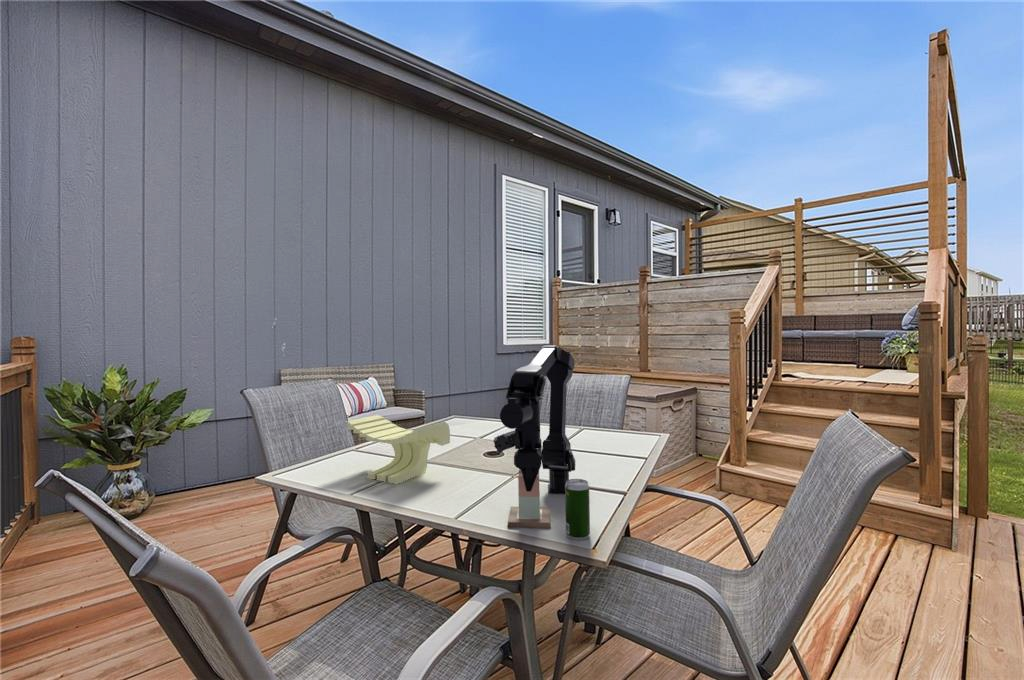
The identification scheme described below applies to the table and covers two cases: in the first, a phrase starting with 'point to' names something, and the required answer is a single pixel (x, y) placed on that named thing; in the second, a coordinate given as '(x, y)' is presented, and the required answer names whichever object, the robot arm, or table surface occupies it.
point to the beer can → (577, 509)
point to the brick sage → (529, 507)
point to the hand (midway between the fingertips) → (529, 485)
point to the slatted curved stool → (401, 445)
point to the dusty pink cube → (522, 488)
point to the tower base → (529, 519)
